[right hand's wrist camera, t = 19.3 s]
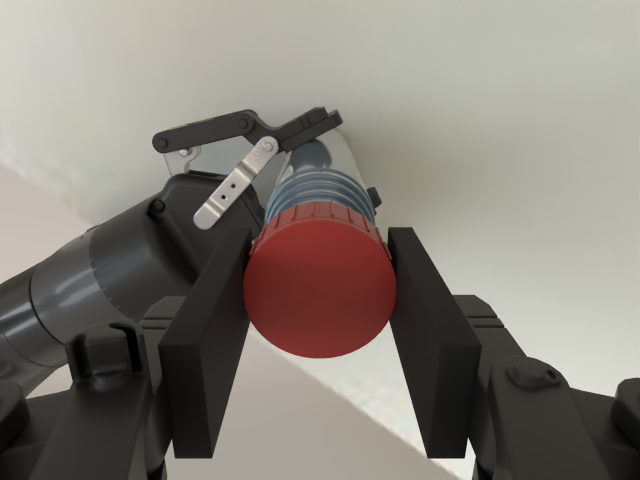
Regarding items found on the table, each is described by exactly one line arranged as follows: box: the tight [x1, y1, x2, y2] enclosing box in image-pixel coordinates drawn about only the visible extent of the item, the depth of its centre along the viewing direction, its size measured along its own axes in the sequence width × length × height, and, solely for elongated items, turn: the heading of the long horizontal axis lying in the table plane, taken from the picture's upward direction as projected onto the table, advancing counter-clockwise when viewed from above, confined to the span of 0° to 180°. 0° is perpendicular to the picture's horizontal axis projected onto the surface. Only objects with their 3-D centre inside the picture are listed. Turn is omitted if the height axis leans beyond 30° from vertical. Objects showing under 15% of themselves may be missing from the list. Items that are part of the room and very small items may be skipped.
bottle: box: [264, 129, 375, 227], centre depth 23 cm, size 5×5×21 cm
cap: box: [243, 201, 396, 358], centre depth 14 cm, size 5×5×2 cm
